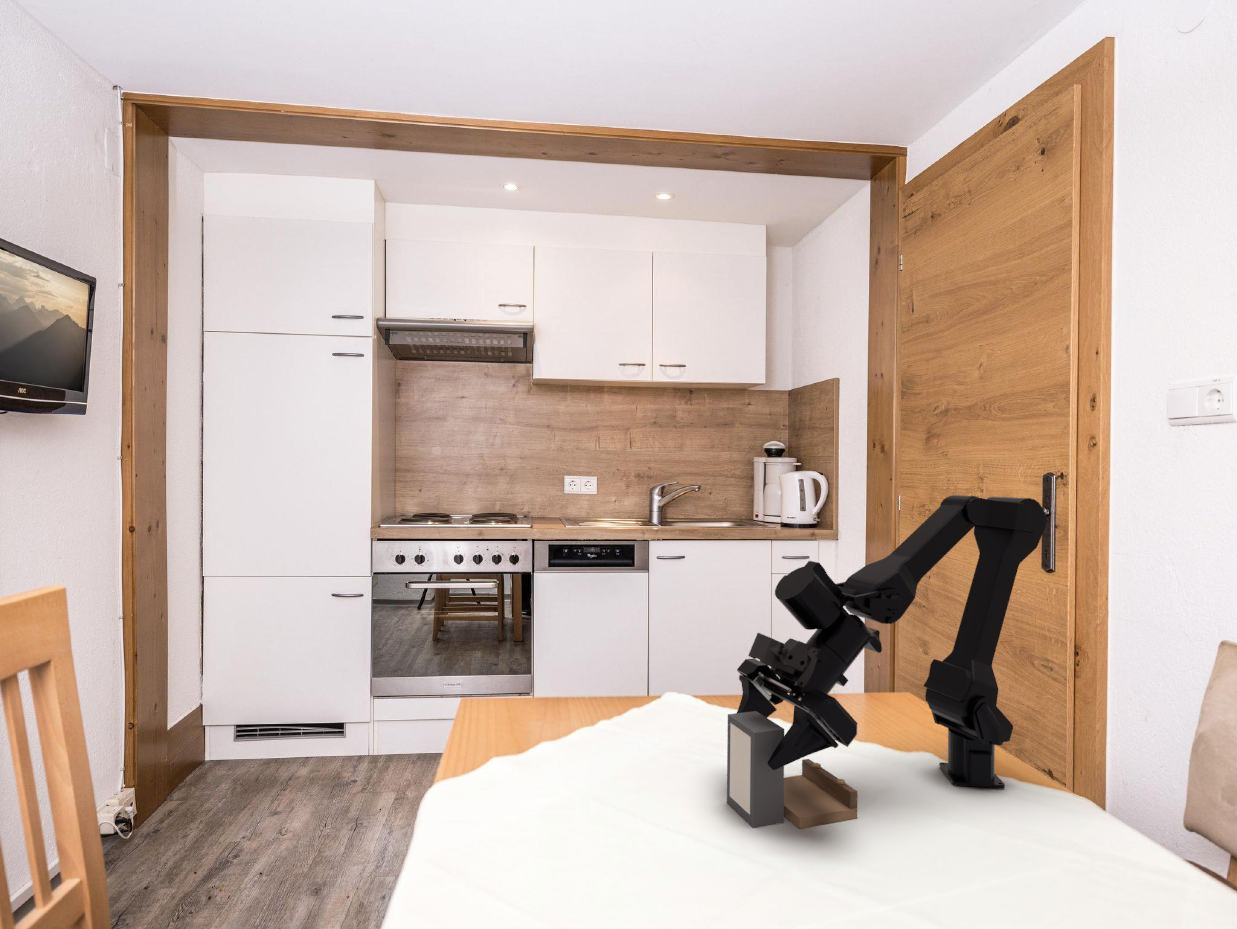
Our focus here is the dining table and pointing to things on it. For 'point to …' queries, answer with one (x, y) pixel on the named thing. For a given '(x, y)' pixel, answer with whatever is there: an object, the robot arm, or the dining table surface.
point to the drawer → (818, 797)
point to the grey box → (754, 769)
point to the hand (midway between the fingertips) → (749, 752)
